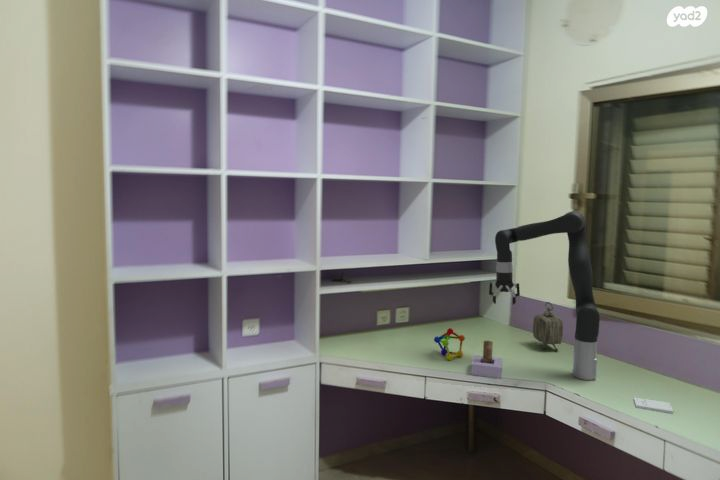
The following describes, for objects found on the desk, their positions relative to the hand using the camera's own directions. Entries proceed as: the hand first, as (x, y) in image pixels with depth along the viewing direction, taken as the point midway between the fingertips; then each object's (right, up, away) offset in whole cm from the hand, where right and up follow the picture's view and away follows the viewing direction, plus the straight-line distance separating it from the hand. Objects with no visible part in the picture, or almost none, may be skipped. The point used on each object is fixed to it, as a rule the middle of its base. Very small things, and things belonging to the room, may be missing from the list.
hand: (504, 304), depth 235 cm
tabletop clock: (+29, -27, +22) cm, 45 cm away
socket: (-12, -30, -12) cm, 34 cm away
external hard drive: (+45, -35, -46) cm, 73 cm away
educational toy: (-26, -28, +8) cm, 39 cm away
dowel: (-12, -30, -12) cm, 34 cm away
